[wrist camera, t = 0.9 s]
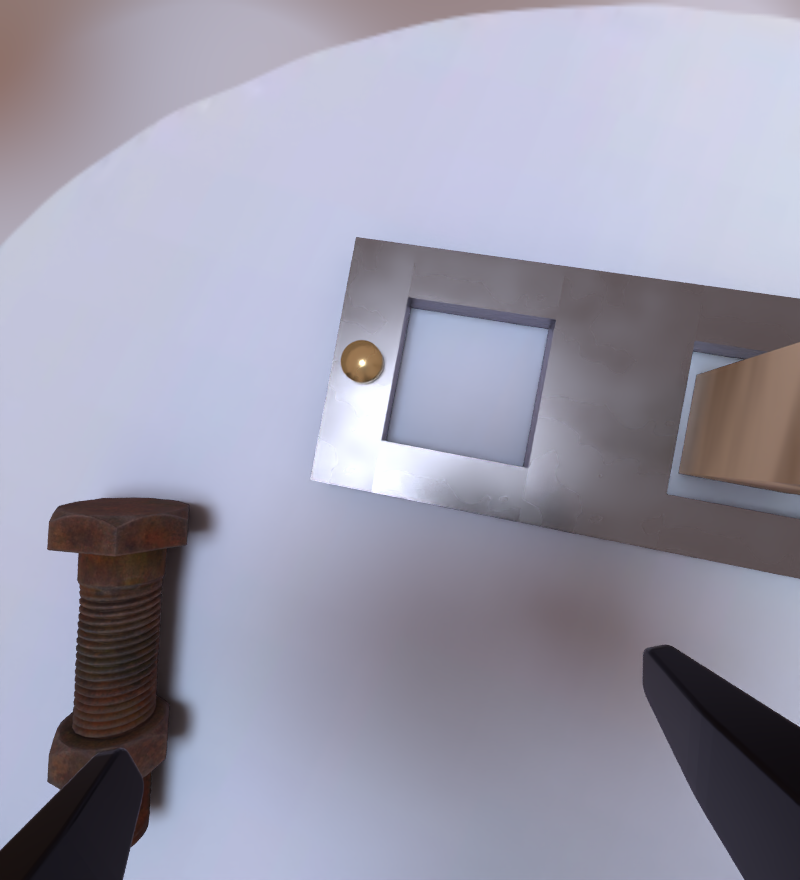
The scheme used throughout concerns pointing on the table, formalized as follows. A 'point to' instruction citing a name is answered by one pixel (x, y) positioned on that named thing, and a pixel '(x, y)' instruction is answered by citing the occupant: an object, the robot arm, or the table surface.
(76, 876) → the robot arm
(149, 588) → the bolt
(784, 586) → the table surface
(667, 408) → the strike plate
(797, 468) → the birch peg
